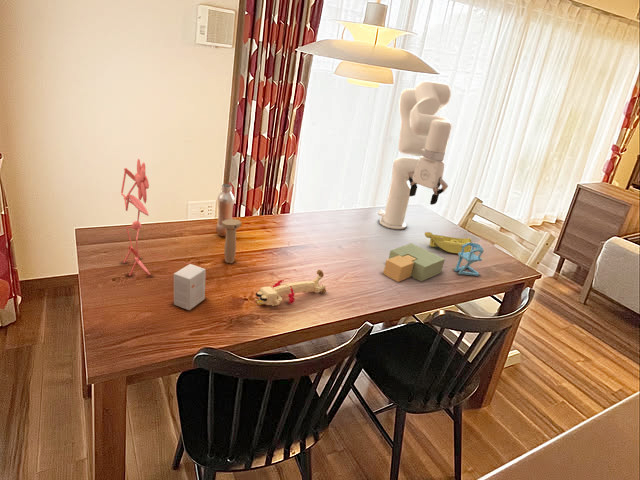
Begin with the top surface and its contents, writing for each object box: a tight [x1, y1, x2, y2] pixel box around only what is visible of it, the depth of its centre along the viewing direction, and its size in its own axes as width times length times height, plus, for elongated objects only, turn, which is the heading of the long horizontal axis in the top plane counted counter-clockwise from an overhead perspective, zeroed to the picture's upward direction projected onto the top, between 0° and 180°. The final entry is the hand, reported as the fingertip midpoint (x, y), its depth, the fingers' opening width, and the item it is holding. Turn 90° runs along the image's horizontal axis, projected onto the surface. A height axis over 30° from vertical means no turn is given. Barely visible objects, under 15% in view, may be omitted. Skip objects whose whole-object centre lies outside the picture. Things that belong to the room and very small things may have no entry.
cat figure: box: [254, 269, 327, 307], centre depth 150 cm, size 10×9×25 cm
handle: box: [222, 218, 242, 264], centre depth 165 cm, size 5×6×15 cm
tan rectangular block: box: [382, 255, 416, 283], centre depth 178 cm, size 7×12×6 cm, turn 135°
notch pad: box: [388, 243, 446, 282], centre depth 184 cm, size 16×14×6 cm
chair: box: [454, 242, 484, 277], centre depth 187 cm, size 8×8×12 cm
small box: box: [173, 263, 207, 311], centre depth 139 cm, size 8×6×10 cm
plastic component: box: [424, 231, 472, 255], centre depth 208 cm, size 20×7×10 cm
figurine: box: [120, 158, 172, 277], centre depth 148 cm, size 15×26×35 cm, turn 30°
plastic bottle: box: [215, 183, 235, 237], centre depth 183 cm, size 6×7×20 cm
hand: (422, 199), depth 183 cm, fingers open, 9 cm apart
